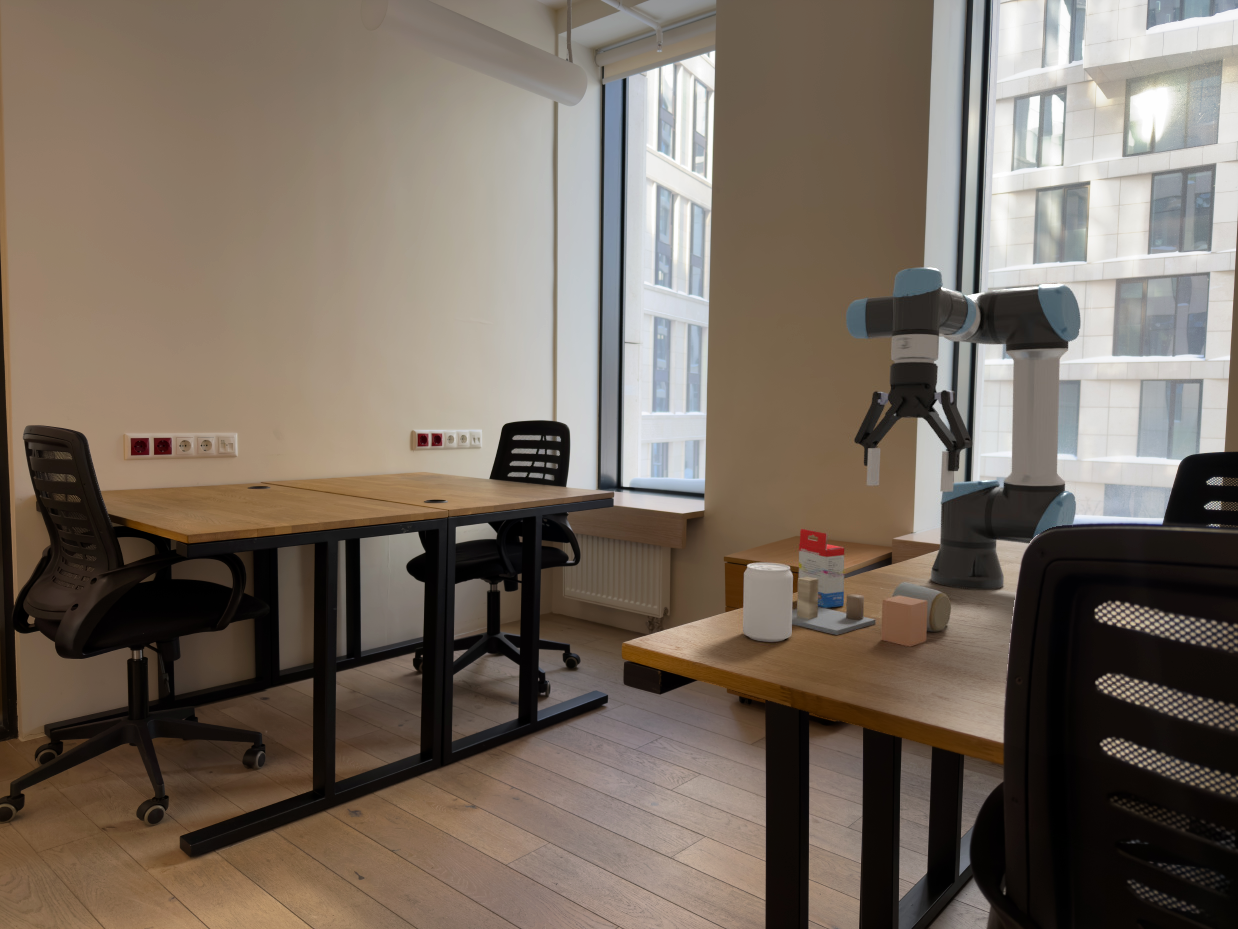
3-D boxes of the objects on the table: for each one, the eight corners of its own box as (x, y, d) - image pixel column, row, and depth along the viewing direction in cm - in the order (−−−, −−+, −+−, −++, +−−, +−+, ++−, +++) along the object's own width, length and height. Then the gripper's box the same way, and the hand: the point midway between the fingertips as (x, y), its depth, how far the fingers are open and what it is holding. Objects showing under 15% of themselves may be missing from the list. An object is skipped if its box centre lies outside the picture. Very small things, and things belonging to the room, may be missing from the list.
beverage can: (785, 645, 132) (786, 572, 132) (736, 639, 136) (738, 568, 135) (796, 633, 140) (797, 564, 139) (750, 628, 143) (751, 560, 142)
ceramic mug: (932, 636, 139) (934, 592, 138) (888, 627, 145) (890, 584, 144) (961, 627, 146) (963, 584, 146) (917, 618, 152) (919, 577, 152)
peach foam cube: (897, 634, 140) (898, 595, 139) (926, 641, 136) (927, 600, 136) (881, 639, 136) (882, 599, 136) (910, 646, 133) (911, 605, 132)
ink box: (844, 606, 160) (846, 532, 159) (825, 609, 158) (827, 533, 157) (815, 597, 168) (817, 526, 167) (796, 600, 166) (798, 528, 165)
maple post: (805, 618, 150) (806, 576, 150) (817, 621, 148) (818, 578, 148) (796, 620, 149) (797, 578, 148) (808, 623, 147) (809, 580, 146)
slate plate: (810, 609, 157) (811, 584, 157) (875, 623, 147) (876, 597, 147) (771, 619, 150) (771, 593, 149) (836, 635, 139) (837, 607, 139)
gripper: (837, 363, 144) (832, 483, 145) (976, 357, 125) (969, 494, 126) (861, 366, 149) (856, 482, 150) (998, 360, 130) (992, 493, 131)
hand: (908, 488), depth 138 cm, fingers open, 13 cm apart
